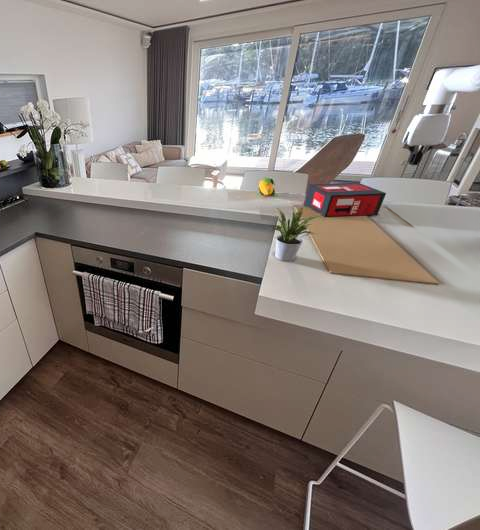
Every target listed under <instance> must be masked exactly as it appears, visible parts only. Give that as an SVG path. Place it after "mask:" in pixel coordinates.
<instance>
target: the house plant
mask: <svg viewBox="0 0 480 530" xmlns="http://www.w3.org/2000/svg"><path fill="white" fill-rule="evenodd" d="M276 209H277V211H278V213H279V215H280V218H279V216H277V215H275V214H274V217H276V218H277V220H278V221H279V223H280V225H279V224H274V226H275V227H271V228H270V230H273V231H278V232H280V235H278V236H276V237H275V254H274V255H275V256H274V257H275V258H276V259H278V260H279V261H281V262H292V261H293V262H294V260H295V258H296V256H297V254H298V252H299V250H300V248H301V246H302V244H303V240H302V239H301V238H303V237H305V236H308V235H309V234H313V233H312V232H309V231H307V228H306V227H307V226H308V225H315V224H307V225H305V224H306V223H308V222H310V221H313V220H324V219H313V218H316V217H315V216H316V215H319V214H321V213H319V214H315V215H312V216H310V217H309V218H304V219H306V220H304V219H301V216H302V210H303V209H302V208H301V209H299V210H298V211H296V212H295V208H294V207H293V206H292V216H291V217H292V219H291V218H288V219H287V218H286V216H285V215H286V214H284V212H282V210H281V209H280V208H277V207H276ZM312 219H313V220H312ZM302 220H304V221H303V222H302ZM300 222H301V223H300ZM302 234H305V235H302ZM314 234H317V233H314ZM314 234H313V235H314ZM300 235H302V236H300ZM299 236H300V237H299Z"/></svg>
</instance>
